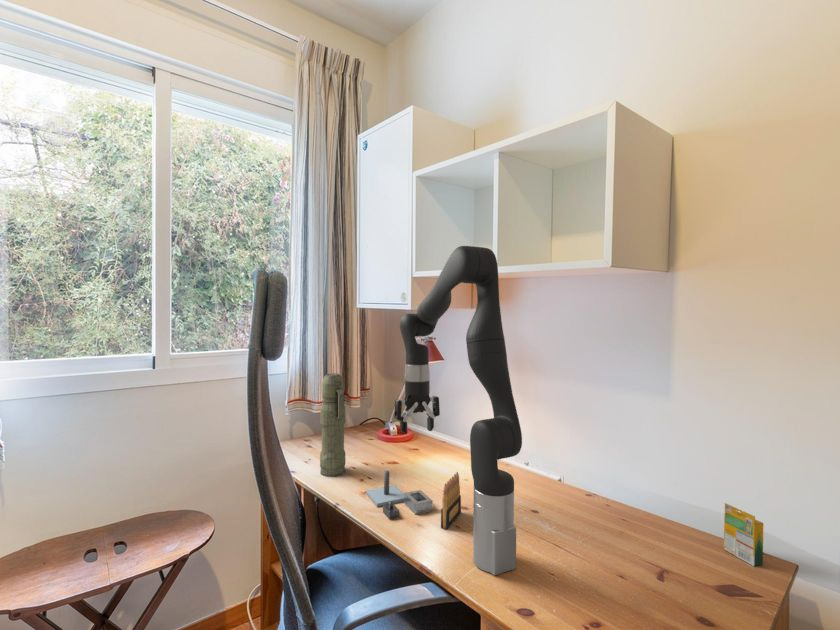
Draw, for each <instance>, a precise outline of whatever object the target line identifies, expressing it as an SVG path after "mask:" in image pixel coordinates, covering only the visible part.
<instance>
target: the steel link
mask: <svg viewBox="0 0 840 630" xmlns="http://www.w3.org/2000/svg"><path fill="white" fill-rule="evenodd" d="M403 493H404V501H403V504H404V505H405V506H406V507H407V508H408V509H409V510H410V511H411V512H412V513H413V514H414V515H420V514H424V513H428V512H433V500H432V499H431V498H430V497H429V496H428V495H427V494H426V493H424V492H423V491H422V490H421V489H418V490H413V491H408V492H407V491H406V492H403Z"/></svg>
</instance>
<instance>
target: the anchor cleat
mask: <svg viewBox="0 0 840 630" xmlns="http://www.w3.org/2000/svg"><path fill="white" fill-rule="evenodd" d="M382 514H384V515H385V516H386V517H387V518H388V520H394V519H398V518H400V509H399V508H398V507H397V506H396V505H395V503H394V504H393V501H389V504H385V505H383V506H382Z"/></svg>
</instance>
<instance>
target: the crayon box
mask: <svg viewBox="0 0 840 630" xmlns="http://www.w3.org/2000/svg"><path fill="white" fill-rule="evenodd" d="M723 523H724V525H723V526H724V528H723V550H724V551H726V552H728V553H729V554H731V555H732V556H735V557H737V558H738V559H740V560H742V561H744V562H745V563H747V564H749V565H750V566H752V567H757V566H762V565H763V564H764V562H763V559H764V557H763V556H764V523H763V522H762V521H761V520H760V521H759V520H757V519H756V516H755V515H753V514H750V513H748V512H746V511H743V510H742V509H739V508H737V507H735V506H733V505H730V504H728V503H726V502H725V503H724V522H723Z"/></svg>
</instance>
